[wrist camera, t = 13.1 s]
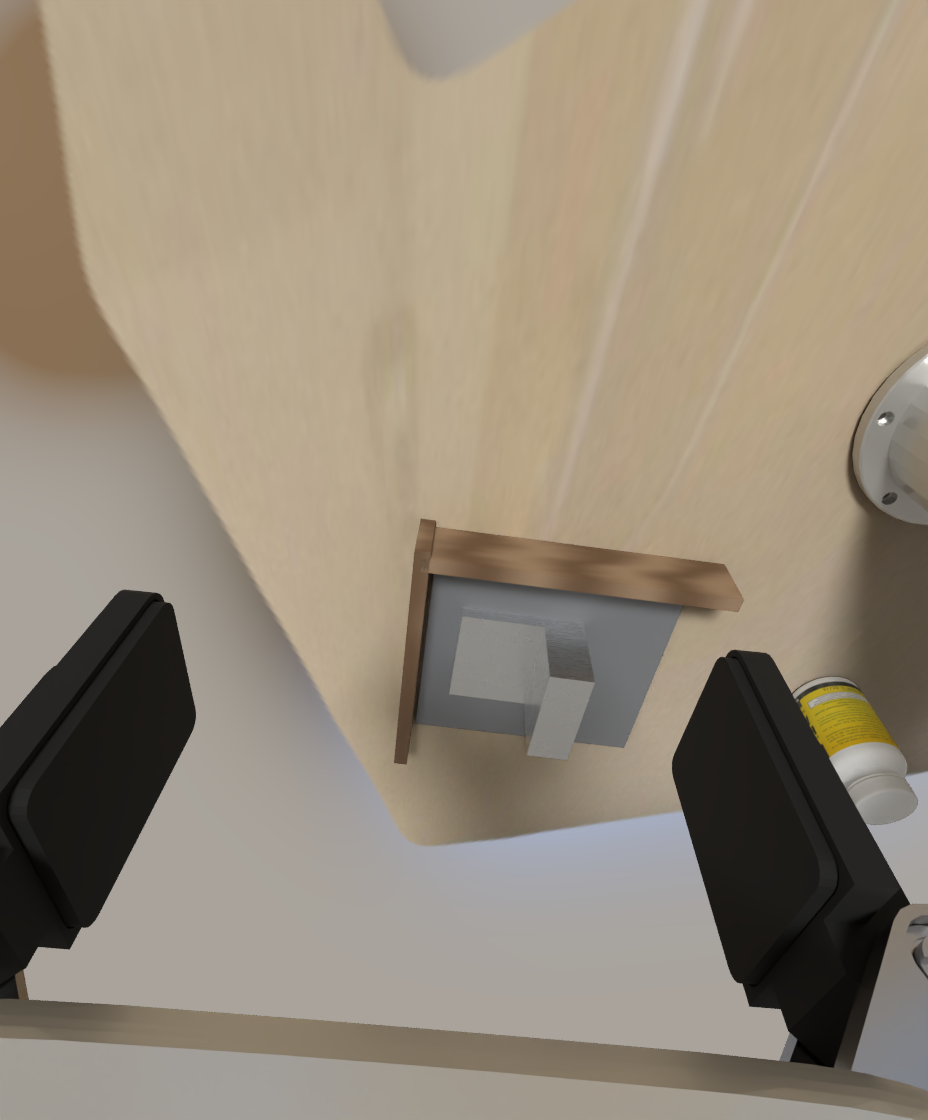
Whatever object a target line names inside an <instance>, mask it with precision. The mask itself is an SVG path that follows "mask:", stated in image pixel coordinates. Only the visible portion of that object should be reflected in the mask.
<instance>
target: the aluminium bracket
mask: <svg viewBox="0 0 928 1120" xmlns="http://www.w3.org/2000/svg"><path fill="white" fill-rule="evenodd" d="M594 684H595V680H594V675H593V669H592V664H591V659H590V654H589V648H588V643H587V638H586V633H585V627H584V624H583V623H575V622H567V621H560V620H552V619H545V618H537V617H529V616H522V615H514V614H506V613H499V612H491V611H483V610H476V609H468V608H463V610H462V616H461V622H460V628H459V634H458V640H457V645H456V651H455V657H454V663H453V669H452V675H451V681H450V688H449V694H451V695H459V696H467V697H475V698H483V699H491V700H499V701H507V702H515V703H523V704H524V715H525V734H526V752H527V755H528V756H537V757H545V758H553V759H561V760H568V757H569V754H570V751H571V748H572V746H573V743H574V740H575V737H576V734H577V732H578V729H579V726H580V723H581V720H582V718H583V715H584V712H585V709H586V706H587V704H588V701H589V698H590V695H591V692H592V689H593V687H594Z"/></svg>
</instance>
